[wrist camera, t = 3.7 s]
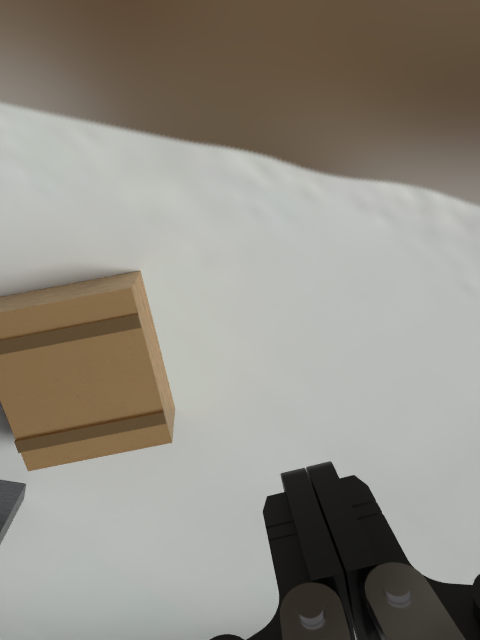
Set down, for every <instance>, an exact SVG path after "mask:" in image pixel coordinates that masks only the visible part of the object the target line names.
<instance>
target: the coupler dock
mask: <svg viewBox="0 0 480 640" xmlns="http://www.w3.org/2000/svg"><path fill="white" fill-rule="evenodd" d="M25 487H26V484H22V483H15V482H9V481H2V480H0V544H1V542H2V540H3V538H4V536H5V534H6V532H7V531H8V529H9V527H10V525H11V523H12V521H13V519H14V517H15V515H16V513H17V511H18V509H19V507H20V505H21V503H22V501H23V499H24V493H25Z"/></svg>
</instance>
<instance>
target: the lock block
mask: <svg viewBox="0 0 480 640" xmlns="http://www.w3.org/2000/svg"><path fill="white" fill-rule="evenodd" d="M0 402H1V404H2V407H3V409H4V412H5V414H6V417H7V419H8V422H9V424H10V427H11V429H12V432H13V434H14V437H15V439H16V440H15V441H14V443H15V445H16V448H17V450H18V453H21V455H22V457H23V460H24V462H25V465H26V467H27V470H28V471H32V470H37V469H42V468H47V467H52V466H57V465H62V464H67V463H72V462H77V461H82V460H87V459H92V458H97V457H102V456H107V455H112V454H117V453H122V452H127V451H132V450H137V449H142V448H147V447H152V446H157V445H162V444H167V443H172V438H173V427H174V416H175V406H174V402H173V398H172V394H171V390H170V386H169V382H168V378H167V374H166V370H165V366H164V362H163V358H162V354H161V350H160V346H159V342H158V338H157V334H156V331H155V327H154V323H153V319H152V315H151V311H150V307H149V303H148V299H147V295H146V291H145V287H144V283H143V279H142V275H141V271H136V272H131V273H126V274H120V275H115V276H110V277H104V278H99V279H94V280H88V281H83V282H78V283H72V284H67V285H62V286H56V287H51V288H46V289H40V290H35V291H30V292H24V293H19V294H14V295H8V296H3V297H0Z"/></svg>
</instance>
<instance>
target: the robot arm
mask: <svg viewBox="0 0 480 640" xmlns="http://www.w3.org/2000/svg"><path fill="white" fill-rule="evenodd" d="M306 470H307V472H306ZM281 479H282V484H283V488H284V492H283V493H279V494H275V495H271V496H267V499H266V502H265V506H264V509H263V515H264V520H265V525H266V530H267V535H268V540H269V545H270V550H271V555H272V560H273V565H274V570H275V575H276V579H277V584H278V589H279V605H278V609H277V611H276V614H275V615H274V617H273V619H272V620H271V621H270V623H269V624H268V625H267V626H266V627H265V628H263V629H262V630H261V631H259V632H258V633H256V634H255V635H253V636H252V637H250V638H249V639H247V640H355V635H354V631H355V634H356V637H357V640H480V574H479V575H478V576H477V577H476V579H475V580H474V583H473V585H463V584H449V583H442V582H438V581H435V580H432V579H429V578H428V577H426V576H424V575H422V574H421V573H420V572H419V571H417V570H416V569H415V568H414V567H413V566H412V565H411V564H410V563H409V561H408V559H407V558H406V556H405V554H404V552H403V550H402V548H401V547H400V545H399V543H398V541H397V539H396V537H395V535H394V533H393V532H392V530H391V528H390V526H389V524H388V522H387V520H386V519H385V517H384V515H383V514H382V511H381V509H380V507H379V506H378V504H377V503H376V500H375V498H374V496H373V494H372V493H371V491H370V489H369V487H368V485H366V484H365V483H364V482H362V481H361V480H360V479H358V478H357V477H356V476H355V475H352V476H348V477H344V478H340V479H339V477H338V475H337V472H336V470H335V468H334V466H333V464H332V462H331V461H330V462H326V463H321V464H317V465H313V466H309V467H306V469H305V468H301V469H297V470H293V471H289V472H285V473H281ZM353 628H354V630H353ZM210 640H244V639H242V638H241V637H238V636H236V635H231V634H224V635H219V636H216V637H214V638H212V639H210Z"/></svg>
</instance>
